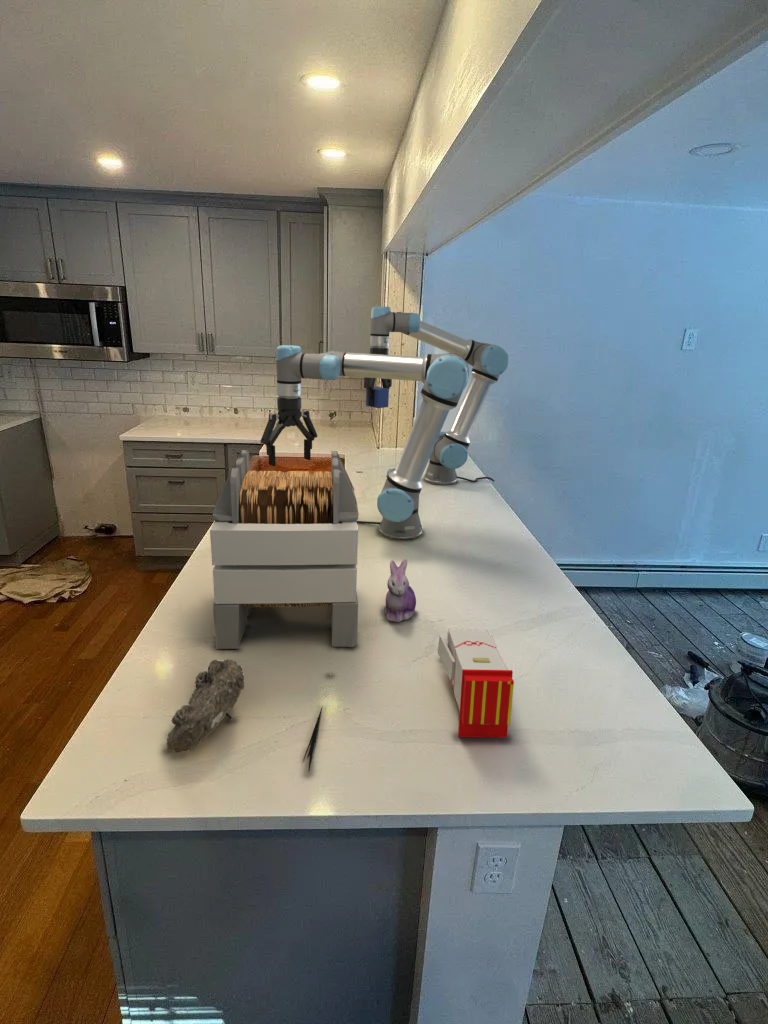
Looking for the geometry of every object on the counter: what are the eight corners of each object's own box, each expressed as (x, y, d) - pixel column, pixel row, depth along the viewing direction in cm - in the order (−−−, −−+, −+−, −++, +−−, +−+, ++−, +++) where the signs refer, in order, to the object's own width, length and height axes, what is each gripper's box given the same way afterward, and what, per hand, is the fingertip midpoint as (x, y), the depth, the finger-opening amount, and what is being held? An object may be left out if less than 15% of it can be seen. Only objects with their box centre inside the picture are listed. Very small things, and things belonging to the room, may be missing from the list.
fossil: (192, 660, 117) (244, 628, 112) (224, 691, 120) (276, 661, 115) (142, 746, 98) (202, 712, 93) (182, 779, 101) (242, 748, 96)
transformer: (234, 582, 160) (226, 440, 146) (350, 581, 163) (353, 443, 150) (213, 651, 128) (201, 478, 114) (357, 647, 132) (363, 480, 118)
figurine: (392, 627, 141) (395, 572, 136) (374, 608, 149) (376, 556, 144) (425, 619, 145) (429, 566, 140) (405, 601, 154) (408, 550, 149)
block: (377, 408, 230) (378, 389, 228) (365, 405, 235) (366, 387, 233) (388, 407, 234) (389, 388, 232) (376, 404, 239) (377, 386, 237)
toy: (488, 613, 130) (523, 677, 101) (484, 667, 133) (517, 744, 104) (435, 612, 130) (455, 676, 101) (432, 666, 133) (451, 743, 103)
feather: (331, 679, 122) (336, 673, 122) (307, 777, 96) (313, 769, 95) (324, 675, 122) (329, 669, 121) (298, 772, 95) (304, 764, 95)
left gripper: (260, 401, 167) (262, 470, 175) (328, 395, 184) (327, 459, 191) (247, 397, 173) (250, 465, 180) (314, 392, 189) (314, 454, 196)
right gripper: (367, 348, 218) (365, 408, 226) (402, 347, 230) (399, 404, 238) (355, 346, 223) (353, 405, 231) (390, 346, 235) (387, 402, 243)
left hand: (290, 462), depth 185 cm, fingers open, 13 cm apart
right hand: (377, 405), depth 235 cm, fingers closed on block, 6 cm apart
